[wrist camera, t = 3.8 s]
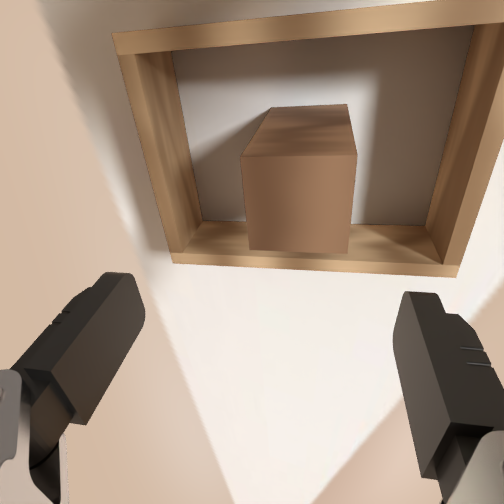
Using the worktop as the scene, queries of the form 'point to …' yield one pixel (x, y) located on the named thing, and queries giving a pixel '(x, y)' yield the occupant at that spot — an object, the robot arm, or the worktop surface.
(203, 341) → the worktop surface
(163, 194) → the caddy
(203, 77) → the worktop surface
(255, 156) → the walnut block
